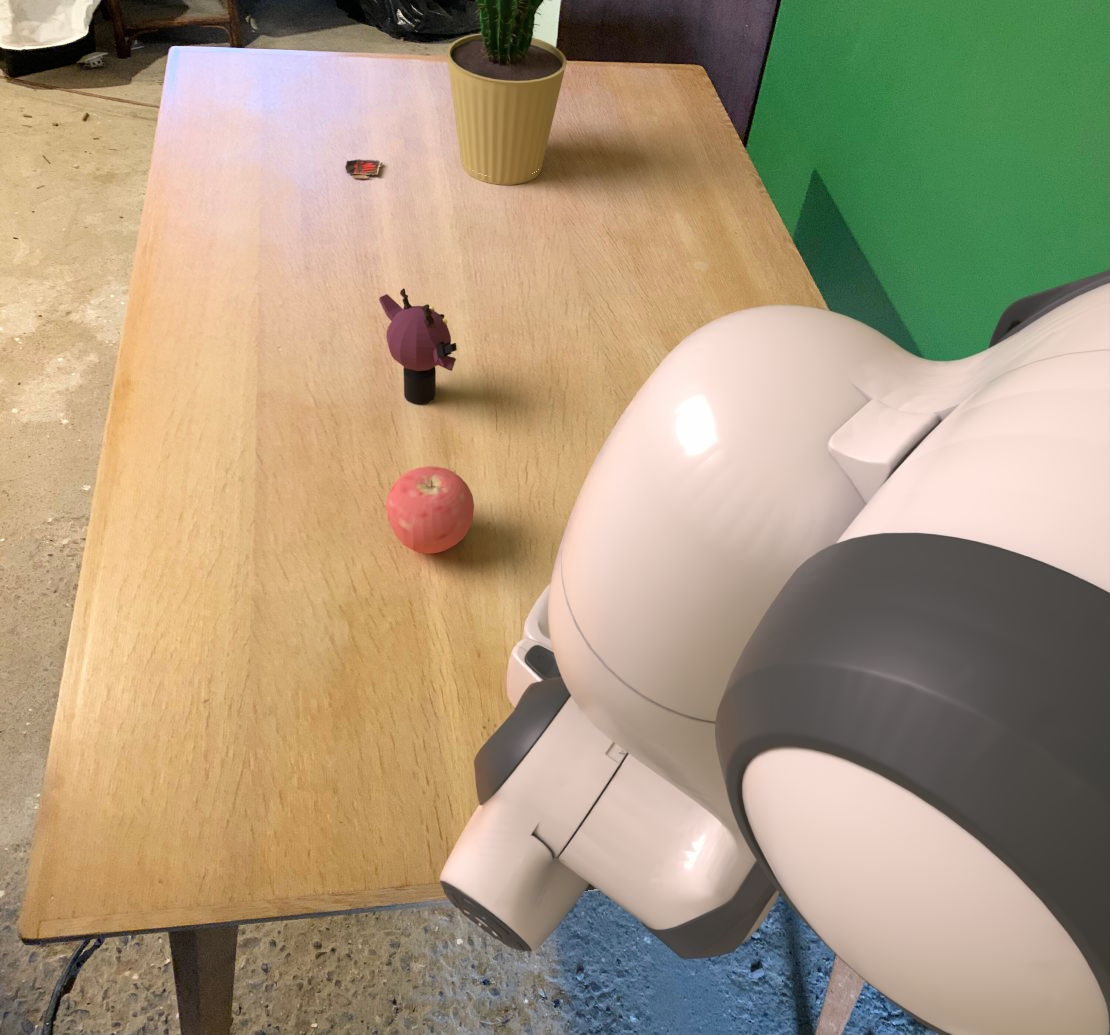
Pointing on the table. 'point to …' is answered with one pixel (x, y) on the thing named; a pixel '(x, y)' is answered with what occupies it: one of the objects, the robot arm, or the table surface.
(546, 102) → the potted cactus
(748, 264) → the table surface
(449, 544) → the apple
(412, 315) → the figurine
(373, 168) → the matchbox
